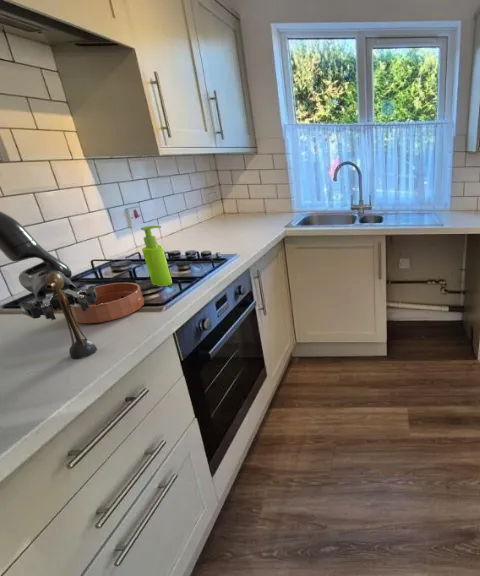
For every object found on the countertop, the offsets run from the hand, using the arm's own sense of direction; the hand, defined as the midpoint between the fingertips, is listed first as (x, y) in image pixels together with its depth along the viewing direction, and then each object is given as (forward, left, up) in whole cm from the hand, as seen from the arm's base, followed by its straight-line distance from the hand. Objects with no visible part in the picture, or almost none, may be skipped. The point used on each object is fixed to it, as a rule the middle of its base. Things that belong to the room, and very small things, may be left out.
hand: (68, 311), depth 77 cm
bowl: (+10, +26, -12) cm, 30 cm away
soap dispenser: (+28, +37, -12) cm, 48 cm away
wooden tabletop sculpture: (0, +3, -12) cm, 13 cm away
